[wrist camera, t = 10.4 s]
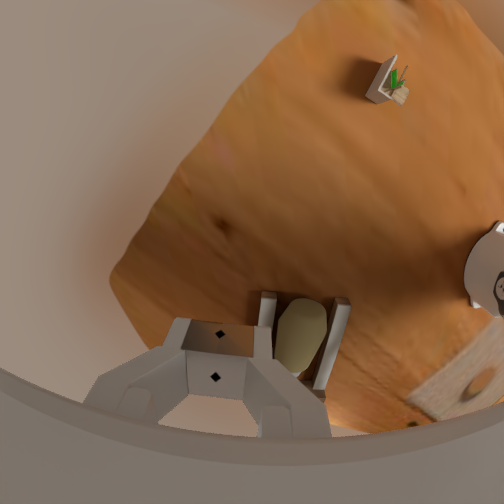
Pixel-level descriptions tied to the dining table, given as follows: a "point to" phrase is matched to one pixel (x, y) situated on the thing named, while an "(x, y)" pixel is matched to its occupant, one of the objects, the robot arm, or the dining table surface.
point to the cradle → (329, 343)
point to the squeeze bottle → (300, 334)
